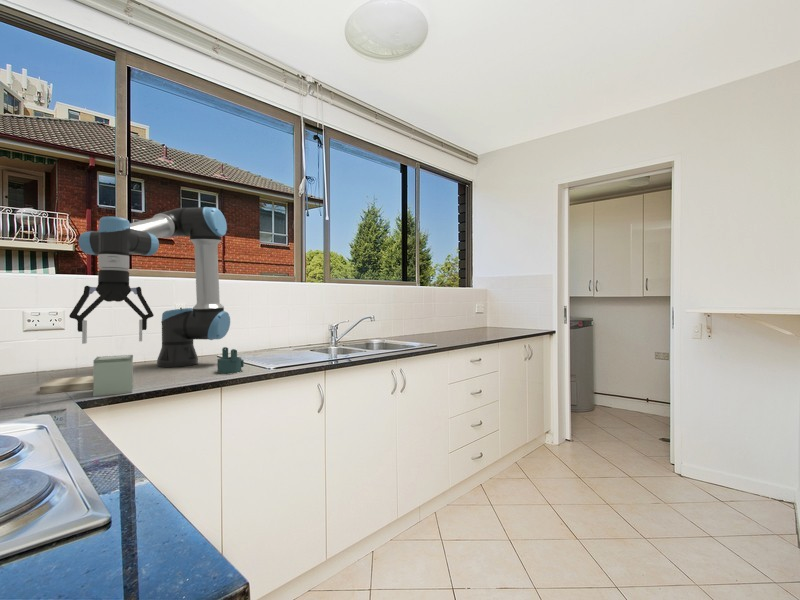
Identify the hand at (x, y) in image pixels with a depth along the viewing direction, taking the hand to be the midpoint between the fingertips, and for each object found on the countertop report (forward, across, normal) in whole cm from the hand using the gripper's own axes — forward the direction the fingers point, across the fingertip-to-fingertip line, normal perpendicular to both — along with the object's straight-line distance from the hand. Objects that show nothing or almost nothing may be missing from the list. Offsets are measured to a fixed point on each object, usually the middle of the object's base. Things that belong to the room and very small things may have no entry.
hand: (113, 342), depth 122 cm
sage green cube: (+14, 0, 0) cm, 15 cm away
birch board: (+14, -11, +14) cm, 23 cm away
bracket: (+14, +35, +18) cm, 42 cm away
